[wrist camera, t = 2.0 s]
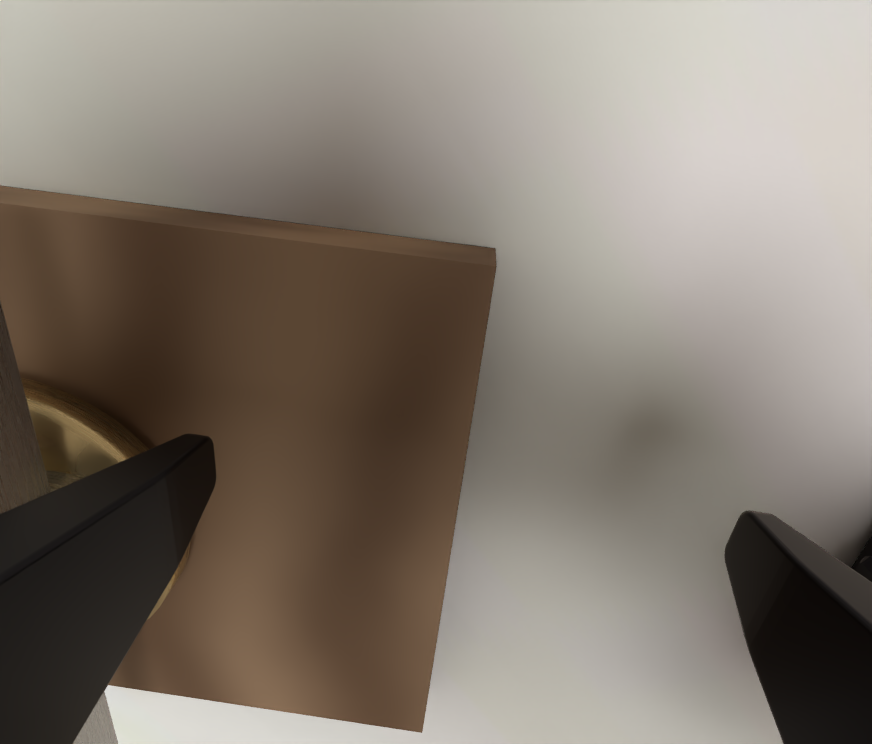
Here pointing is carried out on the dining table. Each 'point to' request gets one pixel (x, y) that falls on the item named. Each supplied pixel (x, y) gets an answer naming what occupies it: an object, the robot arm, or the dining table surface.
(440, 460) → the stand
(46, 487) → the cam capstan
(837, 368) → the dining table surface
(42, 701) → the robot arm
